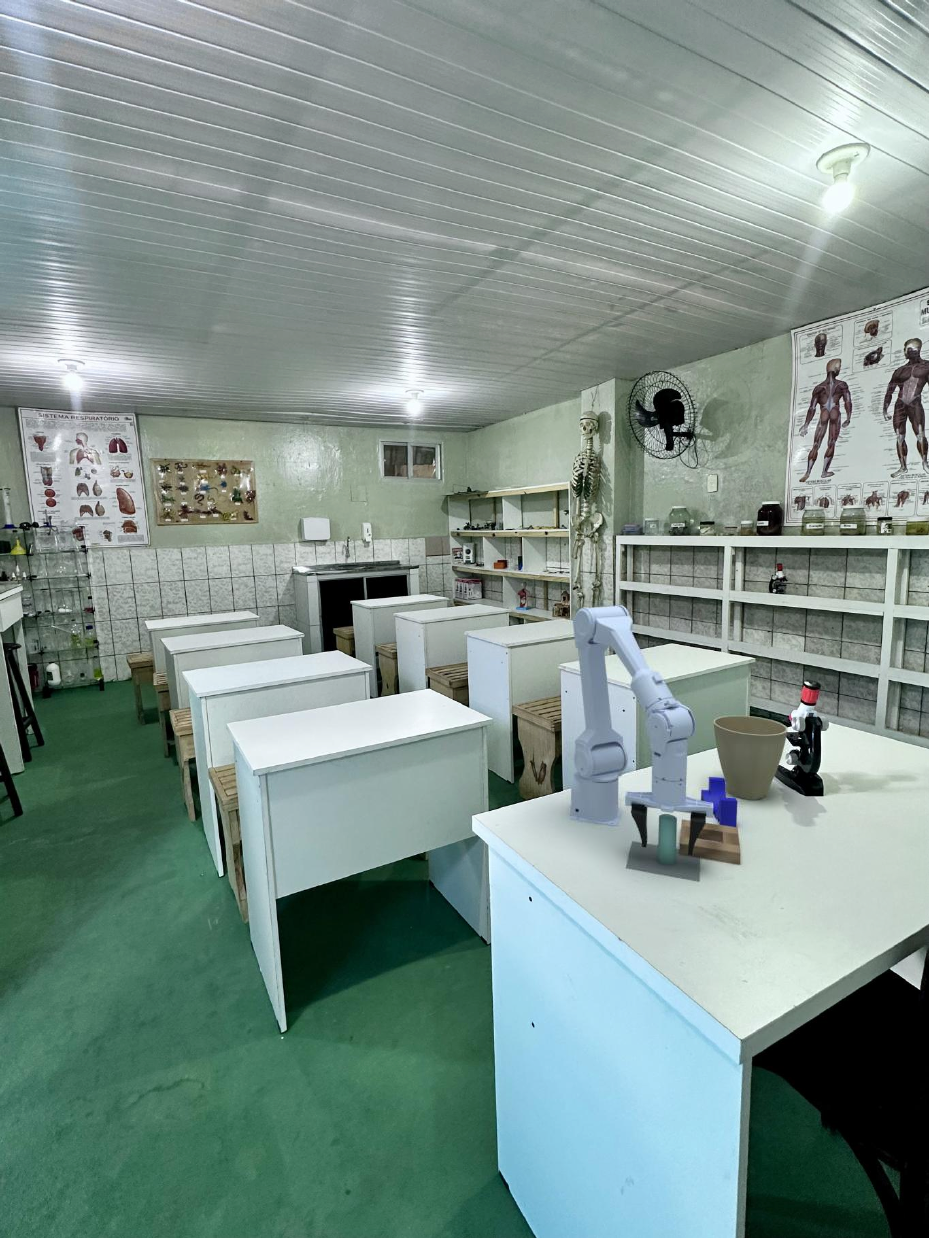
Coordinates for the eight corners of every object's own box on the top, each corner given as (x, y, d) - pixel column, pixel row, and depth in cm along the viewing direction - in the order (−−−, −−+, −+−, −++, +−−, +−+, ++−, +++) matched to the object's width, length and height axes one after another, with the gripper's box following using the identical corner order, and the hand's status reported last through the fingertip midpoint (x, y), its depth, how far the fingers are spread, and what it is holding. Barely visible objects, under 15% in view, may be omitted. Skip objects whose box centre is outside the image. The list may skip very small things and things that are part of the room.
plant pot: (799, 804, 128) (803, 732, 126) (734, 809, 126) (738, 737, 124) (757, 777, 142) (760, 713, 140) (698, 781, 140) (700, 716, 138)
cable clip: (700, 802, 130) (701, 776, 129) (722, 804, 129) (723, 777, 128) (712, 828, 118) (713, 799, 118) (736, 830, 117) (737, 801, 117)
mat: (625, 870, 103) (625, 867, 103) (632, 843, 113) (632, 841, 113) (699, 883, 99) (699, 881, 99) (700, 854, 108) (700, 852, 108)
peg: (657, 863, 105) (658, 820, 104) (658, 854, 108) (659, 812, 106) (675, 866, 104) (676, 822, 103) (676, 857, 106) (677, 815, 105)
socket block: (679, 856, 108) (679, 843, 107) (681, 831, 117) (681, 819, 116) (739, 866, 104) (740, 853, 104) (737, 839, 113) (737, 827, 113)
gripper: (623, 778, 103) (622, 852, 104) (714, 789, 97) (711, 867, 99) (628, 763, 109) (627, 833, 111) (713, 773, 104) (711, 847, 105)
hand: (667, 848), depth 105 cm, fingers open, 7 cm apart
